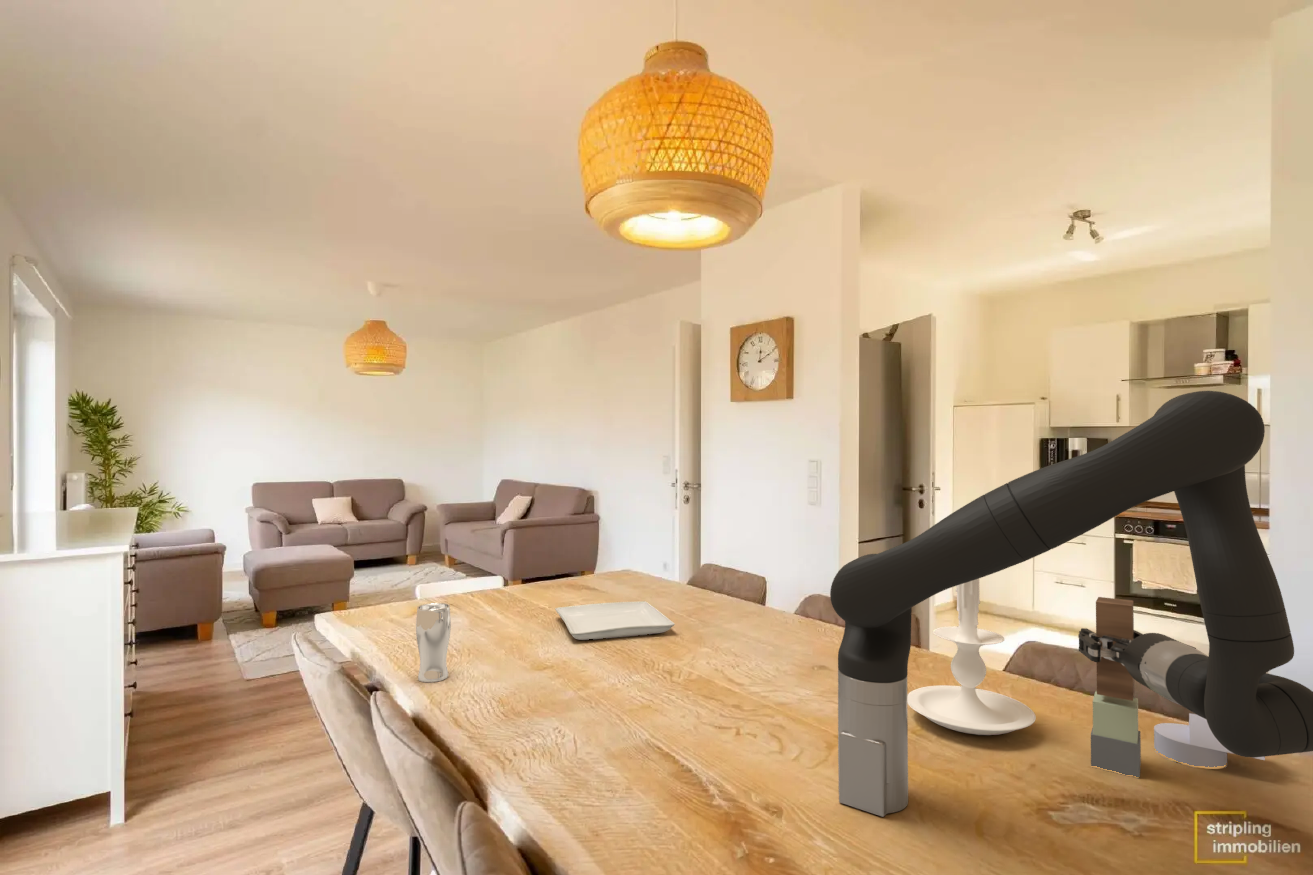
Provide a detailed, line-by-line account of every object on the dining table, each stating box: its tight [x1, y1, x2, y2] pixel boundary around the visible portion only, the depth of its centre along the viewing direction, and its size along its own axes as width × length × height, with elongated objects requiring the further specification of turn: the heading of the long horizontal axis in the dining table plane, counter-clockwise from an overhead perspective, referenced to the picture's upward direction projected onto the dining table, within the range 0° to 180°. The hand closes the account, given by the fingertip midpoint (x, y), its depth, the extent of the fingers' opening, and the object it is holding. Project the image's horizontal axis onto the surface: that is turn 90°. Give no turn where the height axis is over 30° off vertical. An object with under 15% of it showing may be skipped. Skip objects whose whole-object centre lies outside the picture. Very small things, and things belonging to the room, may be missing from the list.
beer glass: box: [415, 602, 452, 683], centre depth 142 cm, size 7×7×15 cm
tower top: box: [1092, 690, 1139, 744], centre depth 103 cm, size 6×6×5 cm
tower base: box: [1090, 727, 1142, 778], centre depth 103 cm, size 6×6×5 cm
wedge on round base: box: [1153, 712, 1266, 767], centre depth 105 cm, size 9×7×13 cm
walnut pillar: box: [1095, 596, 1136, 701], centre depth 103 cm, size 4×4×14 cm
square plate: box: [554, 600, 676, 641], centre depth 183 cm, size 27×27×4 cm
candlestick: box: [907, 578, 1037, 736], centre depth 121 cm, size 21×25×28 cm
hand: (1106, 635), depth 106 cm, fingers open, 6 cm apart
